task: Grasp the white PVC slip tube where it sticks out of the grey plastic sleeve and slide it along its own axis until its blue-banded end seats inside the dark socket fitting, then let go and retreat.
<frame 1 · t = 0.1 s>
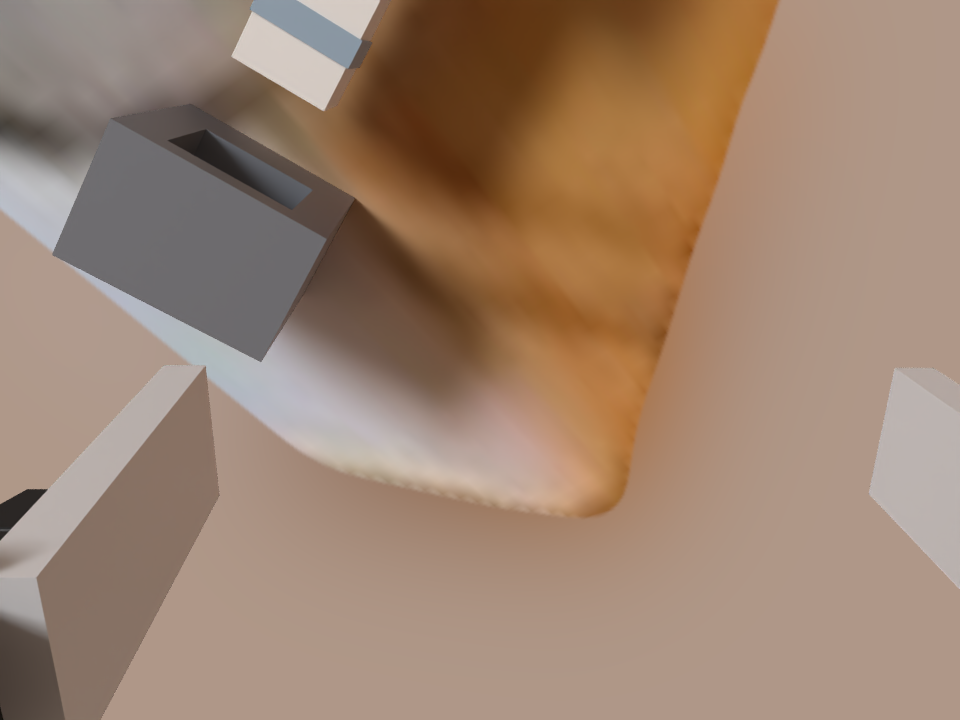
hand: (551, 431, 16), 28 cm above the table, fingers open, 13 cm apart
socket fitting: (248, 204, 42), on the table
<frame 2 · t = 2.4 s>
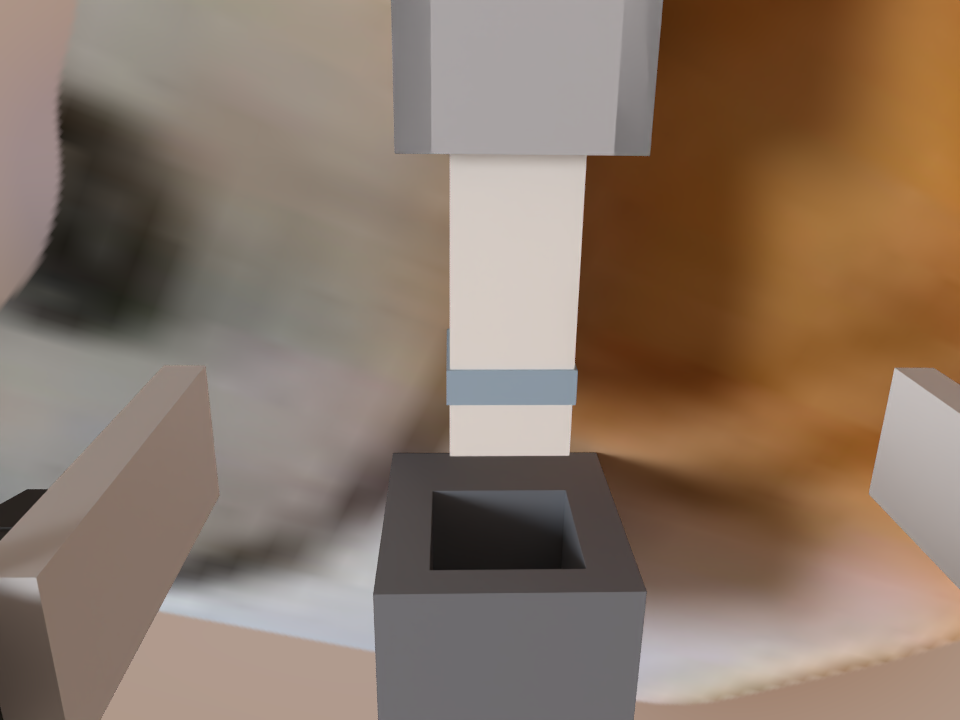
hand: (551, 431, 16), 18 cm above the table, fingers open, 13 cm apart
slip tube: (513, 157, 26), point 6 cm above the table, slide at 0.0 cm
socket fitting: (493, 512, 37), on the table
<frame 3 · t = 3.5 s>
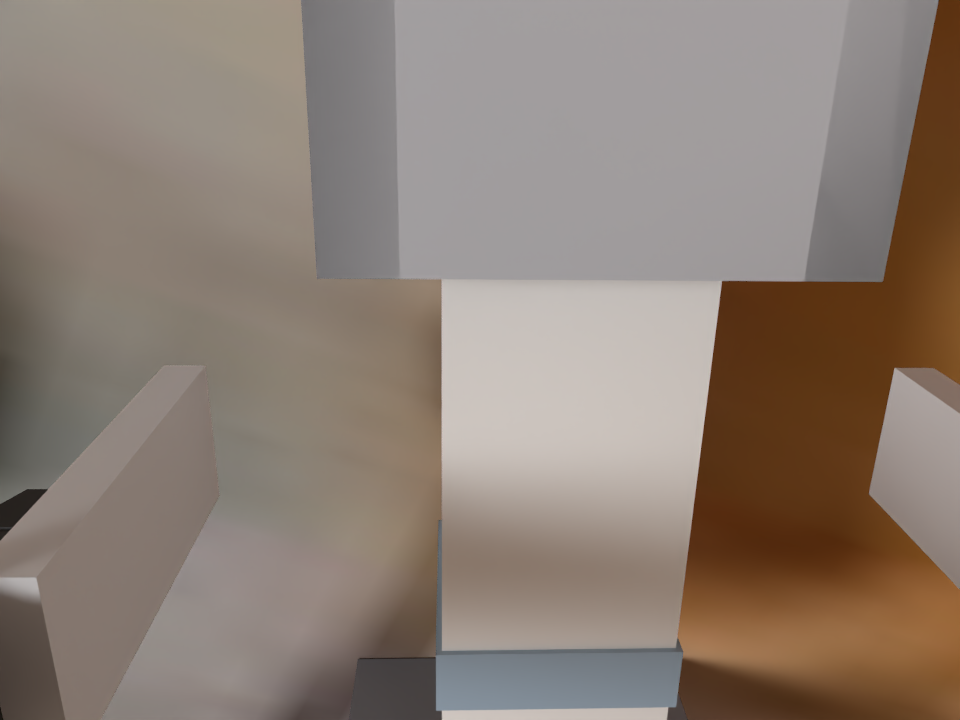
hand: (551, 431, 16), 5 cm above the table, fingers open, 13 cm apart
slip tube: (563, 252, 13), point 6 cm above the table, slide at 0.0 cm
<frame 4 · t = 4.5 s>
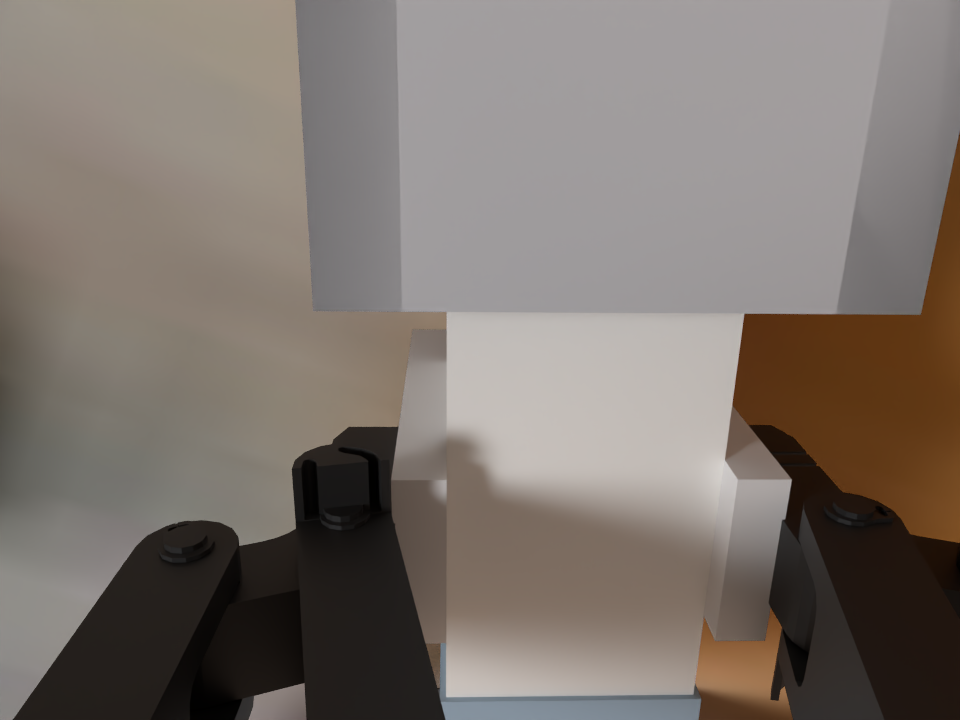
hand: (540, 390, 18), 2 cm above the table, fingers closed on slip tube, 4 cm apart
slip tube: (575, 277, 13), point 6 cm above the table, slide at 0.0 cm, touching gripper
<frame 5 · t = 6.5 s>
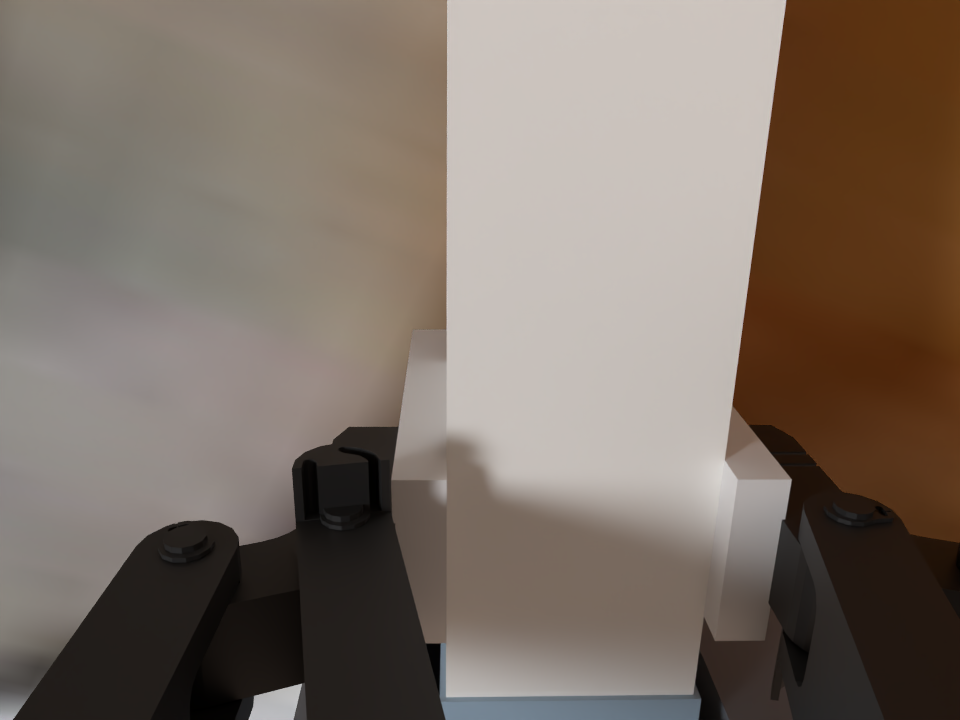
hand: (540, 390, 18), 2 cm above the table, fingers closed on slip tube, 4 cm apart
slip tube: (575, 277, 13), point 6 cm above the table, slide at 6.5 cm, touching gripper
socket fitting: (522, 585, 22), on the table
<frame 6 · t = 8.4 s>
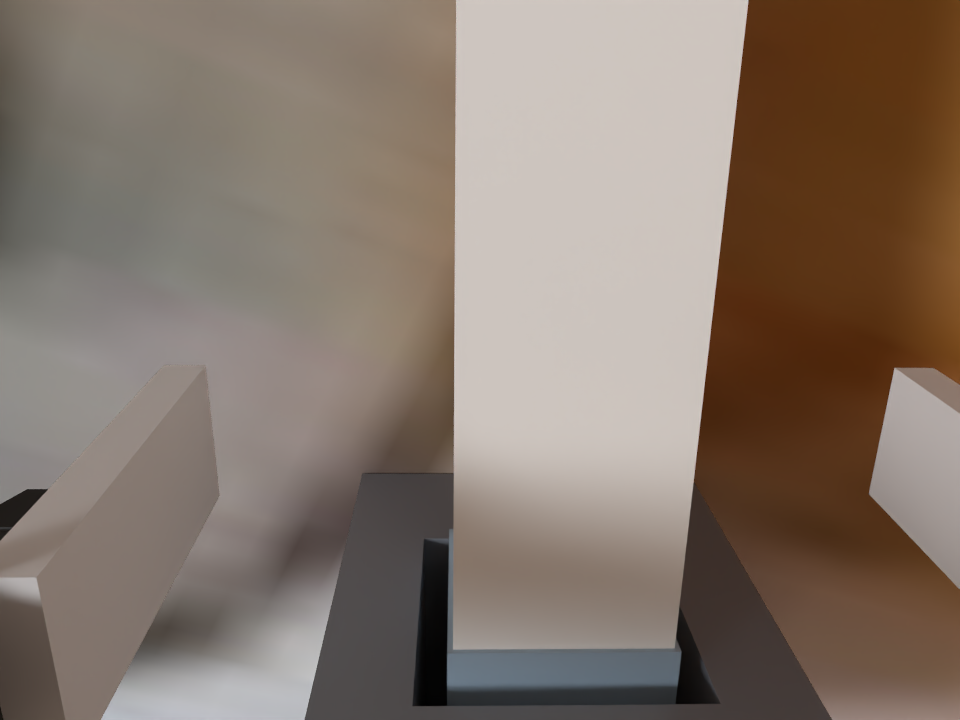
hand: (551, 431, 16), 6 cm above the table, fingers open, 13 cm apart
slip tube: (568, 274, 14), point 6 cm above the table, slide at 6.5 cm
socket fitting: (523, 567, 23), on the table
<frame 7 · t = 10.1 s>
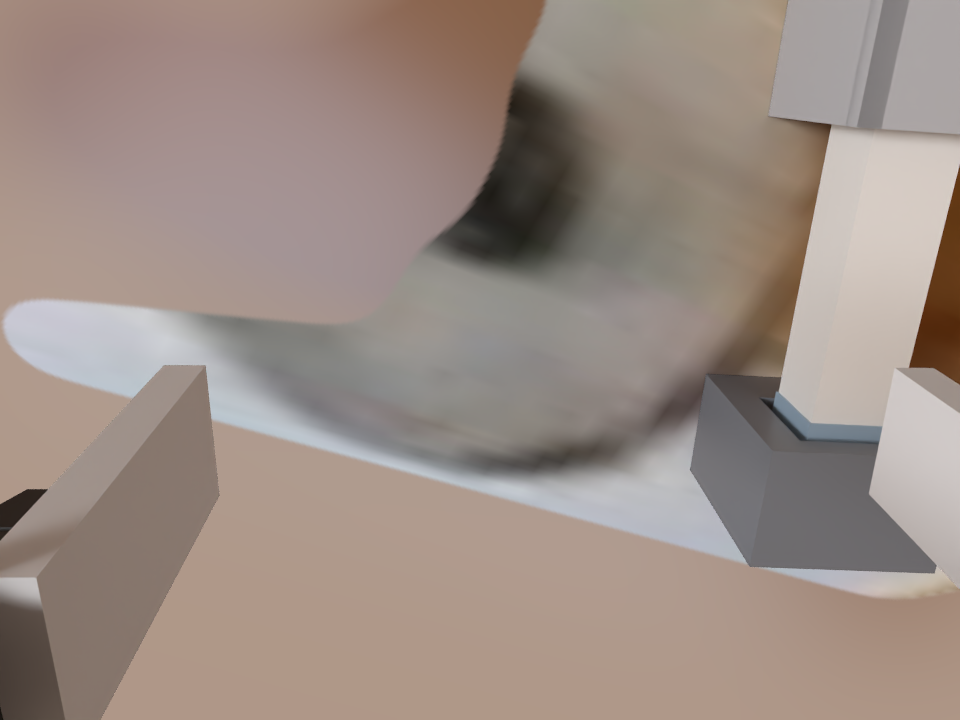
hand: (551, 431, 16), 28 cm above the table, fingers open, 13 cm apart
slip tube: (861, 282, 38), point 6 cm above the table, slide at 6.5 cm
sleeve: (854, 25, 40), on the table
socket fitting: (774, 426, 47), on the table
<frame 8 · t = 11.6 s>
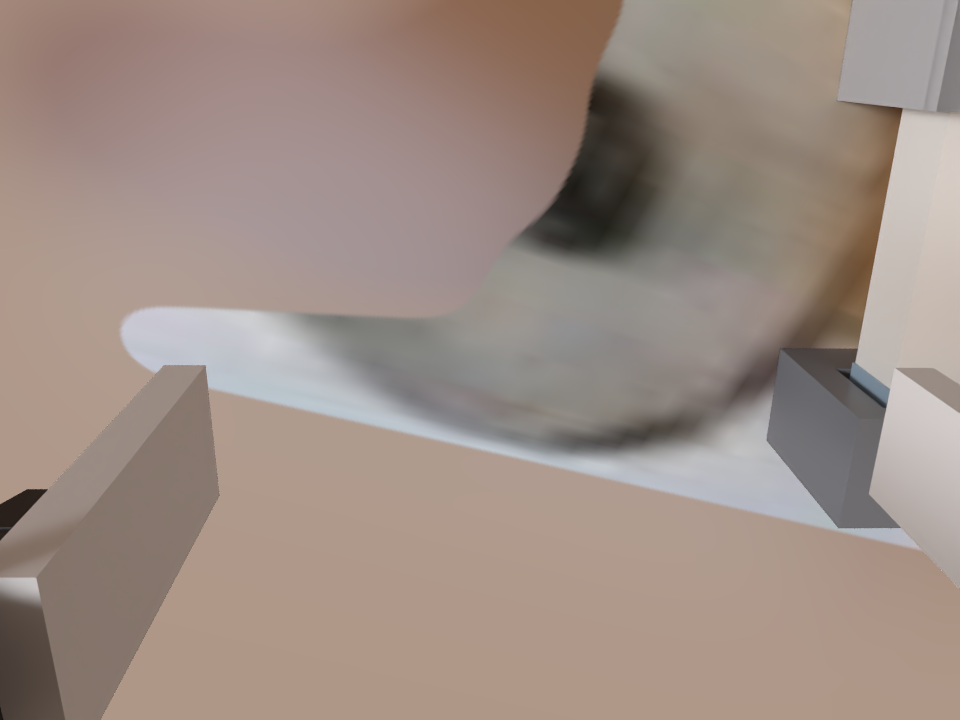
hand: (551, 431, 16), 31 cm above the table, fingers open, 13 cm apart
slip tube: (936, 255, 40), point 6 cm above the table, slide at 6.5 cm
sleeve: (918, 9, 42), on the table
socket fitting: (846, 395, 49), on the table
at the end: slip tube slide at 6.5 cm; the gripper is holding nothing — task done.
